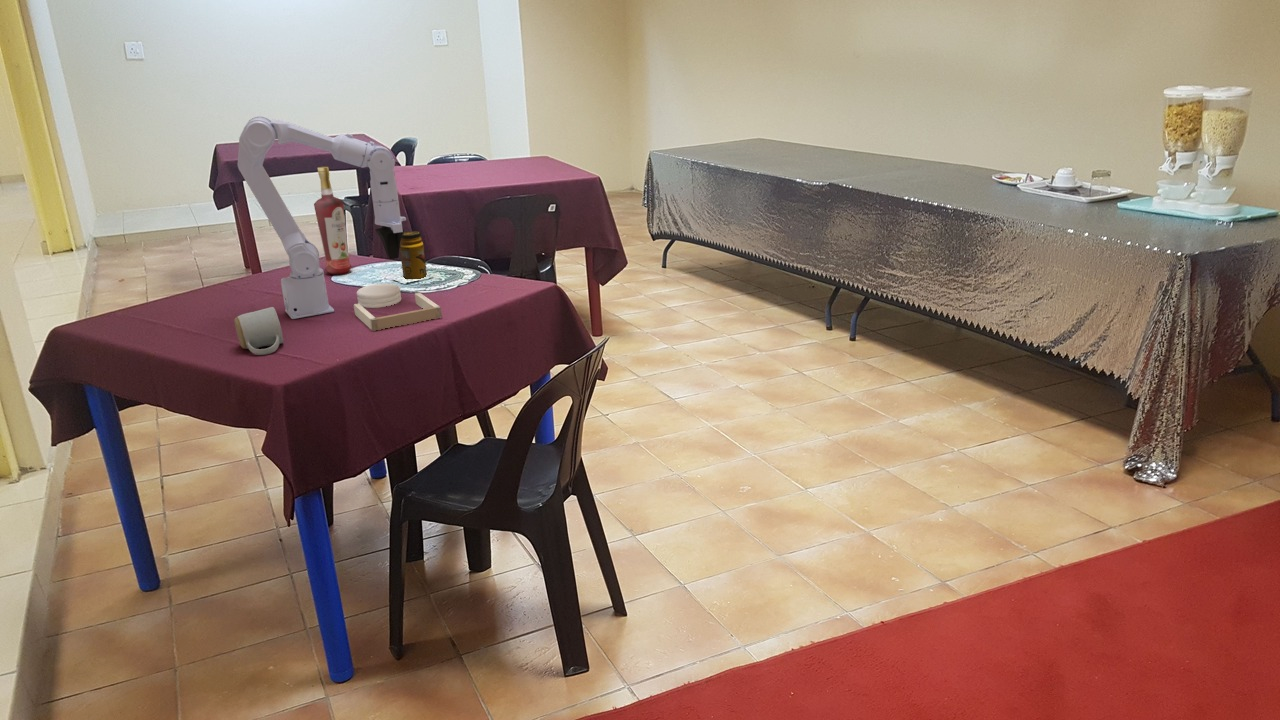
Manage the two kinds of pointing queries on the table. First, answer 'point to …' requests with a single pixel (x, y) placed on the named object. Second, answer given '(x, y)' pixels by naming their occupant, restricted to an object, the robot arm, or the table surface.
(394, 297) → the coaster
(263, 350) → the ceramic mug
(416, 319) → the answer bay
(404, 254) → the condiment
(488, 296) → the table surface
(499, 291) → the table surface
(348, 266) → the liquor
